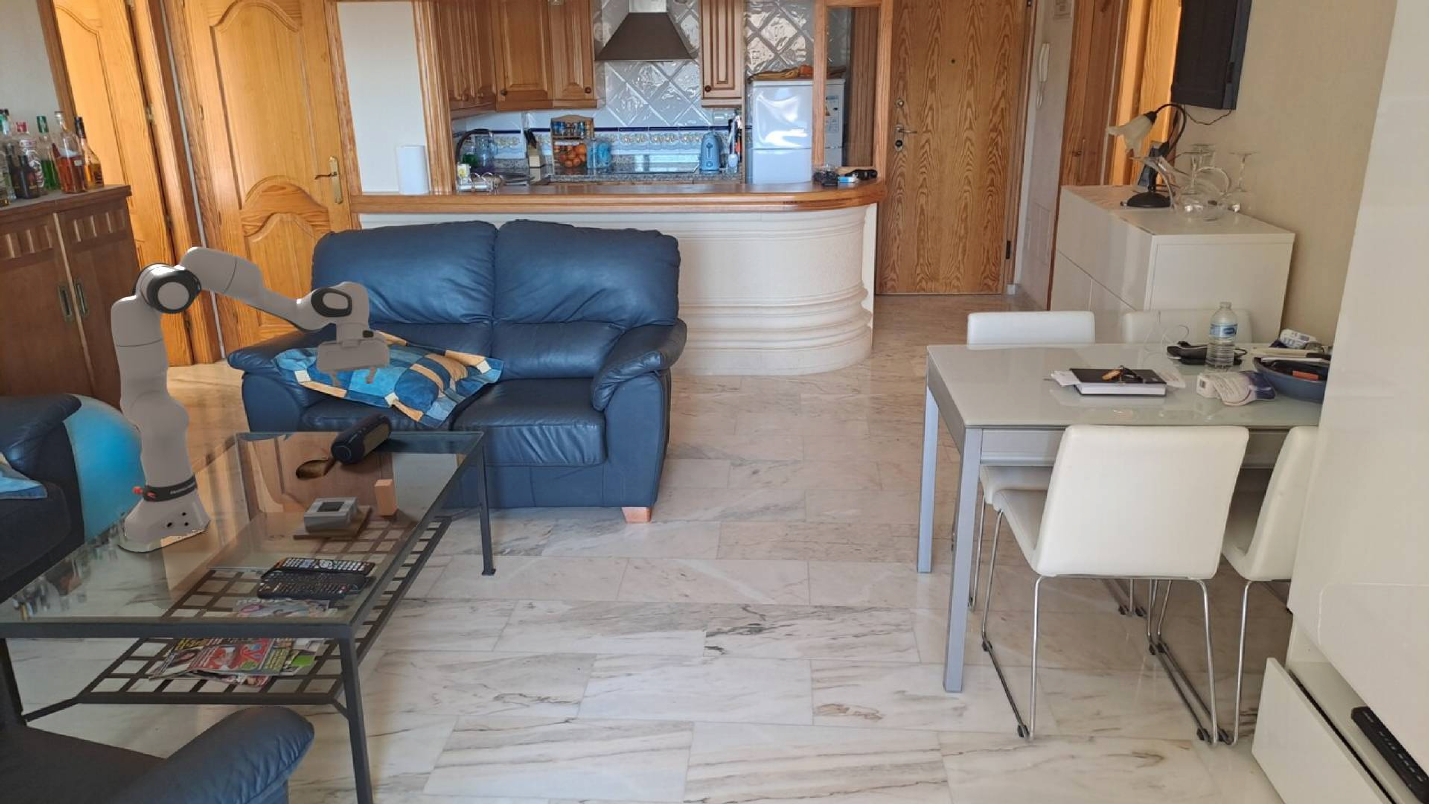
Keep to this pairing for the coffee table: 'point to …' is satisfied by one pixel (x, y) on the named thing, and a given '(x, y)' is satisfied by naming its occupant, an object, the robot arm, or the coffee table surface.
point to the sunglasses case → (316, 464)
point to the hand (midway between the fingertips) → (353, 384)
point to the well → (332, 518)
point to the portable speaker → (361, 438)
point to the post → (385, 497)
